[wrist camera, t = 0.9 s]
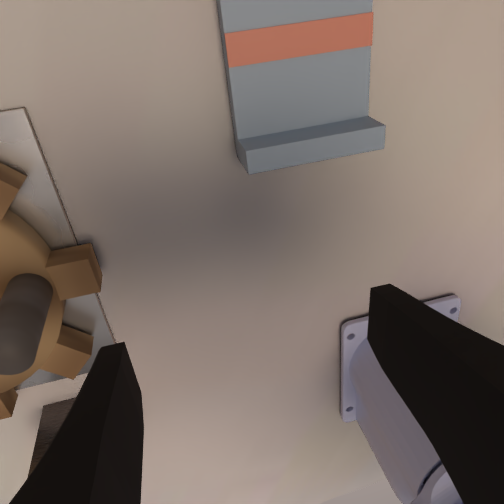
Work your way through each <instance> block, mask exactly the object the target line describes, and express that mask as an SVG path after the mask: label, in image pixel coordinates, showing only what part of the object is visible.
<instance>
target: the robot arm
mask: <svg viewBox="0 0 504 504" xmlns="http://www.w3.org/2000/svg"><path fill="white" fill-rule="evenodd" d="M460 306H461V299H460V298H459V297H458V296H456V295H451V296H447V297H443V298H439V299H435V300H431V301H427V302H421V301H419V300H417V299H416V298H414V297H412V296H411V295H409V294H407V293H406V292H404V291H402V290H400V289H399V288H397V287H395V286H393V285H391V284H386V285H382V286H377V287H373V288H371V291H370V305H369V316H366V317H362V318H358V319H354V320H350V321H347V322H345V323H344V324H343V325H342V328H341V418H342V420H343V421H344V422H351V421H355V420H357V422H358V423H359V425H360V427H361V429H362V431H363V433H364V435H365V437H366V439H367V441H368V443H369V445H370V447H371V449H372V451H373V452H374V454H375V456H376V458H377V460H378V462H379V464H380V466H381V468H382V470H383V472H384V474H385V476H386V478H387V480H388V481H389V483H390V485H391V487H392V489H393V491H394V493H395V494H396V496H397V497H398V498H399V500H400V501H401V502H402V503H403V504H504V346H503V345H501V344H499V343H497V342H495V341H493V340H491V339H489V338H487V337H485V336H483V335H481V334H479V333H477V332H475V331H473V330H471V329H469V328H467V327H465V326H463V325H461V324H459V323H458V322H457V321H458V316H459V311H460ZM349 334H350V335H349ZM143 436H144V423H143V408H142V395H141V390H140V387H139V384H138V381H137V378H136V375H135V372H134V369H133V366H132V363H131V360H130V357H129V354H128V351H127V348H126V345H125V342H121V343H117V344H112V345H108V346H103V347H101V348H100V349H99V351H98V353H97V355H96V358H95V360H94V362H93V364H92V367H91V369H90V371H89V373H88V375H87V377H86V379H85V381H84V383H83V385H82V388H81V390H80V392H79V393H78V395H77V397H76V399H75V401H74V403H73V405H72V407H71V409H70V411H69V412H68V414H67V416H66V418H65V420H64V421H63V423H62V425H61V426H60V428H59V430H58V432H57V433H56V435H55V437H54V438H53V440H52V442H51V443H50V445H49V447H48V448H47V450H46V451H45V453H44V455H43V456H42V458H41V459H40V461H39V462H38V464H37V465H36V467H35V468H34V470H33V471H32V473H31V474H30V476H29V477H28V478H27V480H26V481H25V483H24V484H23V486H22V487H21V488H20V490H19V491H18V492H17V494H16V495H15V496H14V498H13V499H12V500H11V502H10V503H9V504H140V503H141V481H142V460H143Z"/></svg>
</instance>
